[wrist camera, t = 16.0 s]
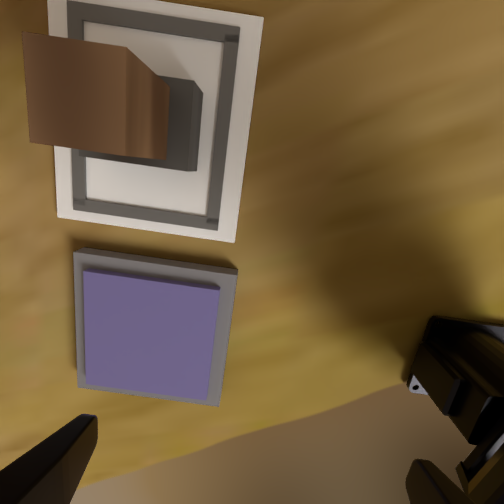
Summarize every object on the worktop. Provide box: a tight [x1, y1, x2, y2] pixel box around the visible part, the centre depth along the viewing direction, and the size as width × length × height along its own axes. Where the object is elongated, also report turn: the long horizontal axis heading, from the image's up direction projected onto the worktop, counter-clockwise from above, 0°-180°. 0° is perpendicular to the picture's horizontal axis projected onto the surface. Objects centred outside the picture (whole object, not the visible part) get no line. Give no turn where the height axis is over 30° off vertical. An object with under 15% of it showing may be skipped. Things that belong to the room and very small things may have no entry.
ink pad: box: [73, 247, 238, 407], centre depth 21 cm, size 11×11×2 cm
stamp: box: [22, 31, 203, 172], centre depth 14 cm, size 6×4×8 cm
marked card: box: [47, 0, 264, 243], centre depth 18 cm, size 12×13×1 cm
